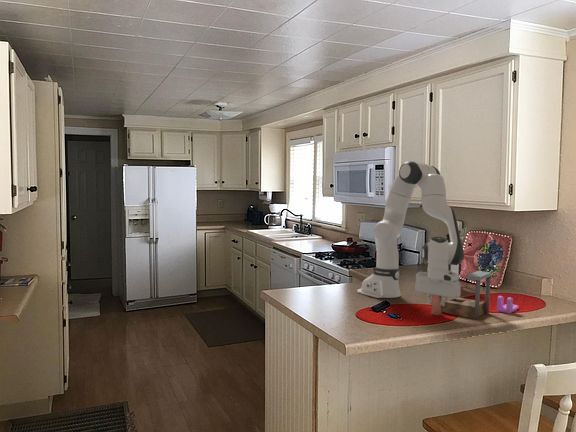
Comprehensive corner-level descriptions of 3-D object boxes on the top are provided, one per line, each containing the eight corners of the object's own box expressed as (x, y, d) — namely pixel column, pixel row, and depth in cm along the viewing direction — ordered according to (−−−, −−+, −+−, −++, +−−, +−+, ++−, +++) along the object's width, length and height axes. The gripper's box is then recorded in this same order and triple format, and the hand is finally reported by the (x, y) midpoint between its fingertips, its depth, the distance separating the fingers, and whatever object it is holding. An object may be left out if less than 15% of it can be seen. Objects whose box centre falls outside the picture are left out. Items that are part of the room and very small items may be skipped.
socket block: (439, 311, 228) (439, 300, 227) (450, 306, 237) (450, 296, 236) (474, 318, 217) (474, 307, 217) (484, 313, 226) (484, 302, 226)
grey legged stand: (464, 317, 219) (465, 275, 218) (476, 310, 230) (478, 270, 228) (478, 319, 215) (479, 277, 214) (489, 313, 226) (491, 272, 224)
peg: (429, 314, 223) (430, 294, 222) (433, 312, 226) (434, 292, 225) (438, 315, 221) (439, 295, 220) (442, 314, 224) (443, 294, 223)
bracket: (509, 313, 226) (510, 298, 226) (496, 311, 230) (497, 296, 230) (519, 308, 236) (520, 293, 235) (507, 306, 239) (508, 291, 239)
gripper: (412, 271, 226) (411, 302, 228) (457, 278, 213) (455, 310, 214) (419, 270, 231) (418, 299, 232) (462, 276, 218) (461, 307, 219)
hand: (436, 304), depth 223 cm, fingers closed on peg, 4 cm apart
